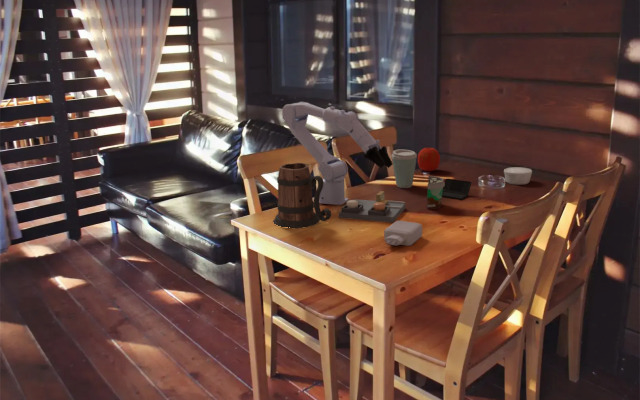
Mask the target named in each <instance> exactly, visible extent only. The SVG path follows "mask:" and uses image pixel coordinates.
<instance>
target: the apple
mask: <svg viewBox="0 0 640 400" xmlns="http://www.w3.org/2000/svg"><path fill="white" fill-rule="evenodd" d="M440 162H441V155H440V153H439V151H438V150H437V149H436V148H434V147H424V148H422V149H420V151H419V152H418V153H417V164H418V165H417V166H418V168H419V169H420V170H422V171H423V172H433V171H436V170H437V169H438V168H439V167H440V166H439V165H440Z"/></svg>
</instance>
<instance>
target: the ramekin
mask: <svg viewBox="0 0 640 400" xmlns="http://www.w3.org/2000/svg"><path fill="white" fill-rule="evenodd" d="M503 174H504V179H506V180H505V182H506V183H507V184H510V185H517V186H519V185H521V186H522V185H527V184H529V183H530V181H531V177H532V174H533V170H532V169H531V168H528V167H520V166H519V167H518V166H517V167H516V166H514V167H507V168H504V170H503Z"/></svg>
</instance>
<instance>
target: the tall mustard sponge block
mask: <svg viewBox="0 0 640 400" xmlns="http://www.w3.org/2000/svg"><path fill="white" fill-rule="evenodd" d="M375 196H376V199H375V201H376V202H382V203H385V205H386V204H387V203H388V201H389V200H388V199H387V200H386V199H385V191H382V190H379V192H378V193H376V195H375Z"/></svg>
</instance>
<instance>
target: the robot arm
mask: <svg viewBox="0 0 640 400" xmlns="http://www.w3.org/2000/svg"><path fill="white" fill-rule="evenodd" d="M281 110H282V112H281V113H282V114H281V115H282V120H284V122H285V123H286V124H287V125H288V129H289V130H290V132H291V134H292V135H293V136H294V137H295V138H296V140H297V141H298V142H299V143H300V144H301V145H302V146H303V147H304V148H305V149H306V151H307V152H308V153H309V154H310V156H312V157H313V158H314V159H315V161H316V162H317V163H318V168H317V169H318V171H319V172H320V173H321V177H322V179H323V182H324V183H323V188H322V191H321V193H320V197H319V204H322V205H323V204H326V205H336V206H342V205H343V204H344V203H345V204H346V203H347V201H349V198H348V197H345V193H346V192H345V179H346V176H347V174H348V171H349V167H348V165H347V163H346V161H344V160H341V159H340V158H339V157H338V156H335V155H333V154H330V152H328V150H327V149H326V148H325V147H324V146H323V145H322V144H321V142H320V141H318V139H316V137H315V136H314V135H313V134H312V133H311V132H310V131H309V129H308V128H307V127H306V125H307V122H308V118H309V116H314V117H318V118H322V119H323V121H324V122H325V123H328V124H331V125H334V126H338V128H339V129H340V130H344V131H345V132H346V133H348V135H349V136H350V137H351V139H352V140H353V141H355V143H357V146H359V147H360V148H361V150H362V152H363V153H364V155H363V158H365V159H367V160H369V161H370V162H372V163H374V164H375V165H376V166H377V167H378V168H380V169H382V168H383V167H384V166H385V167H387V168H391V167H392V165H393V161H392V158H390V155H389V154H388V150H387V147H386V146H381V145H380V142H381V140H380V139H375V138H374V137H373V136H372V135H371V133H370V132H369V131H368V130H367V129H366V128H365V127H364V125H363V124H362V123H361V122H360V121H359V116H358V114H357V113H356V112H354V111H353V110H350V111H347V112H346V110H345V109H341V110H340V109H337V108H336V107H335V106H329V107H326V108H322V107H319V106H317V105H314V104H312V103H309V102H305V101H299V102H294V103H290V104H289V103H287V104H285V105H283V107H282V109H281Z"/></svg>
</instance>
